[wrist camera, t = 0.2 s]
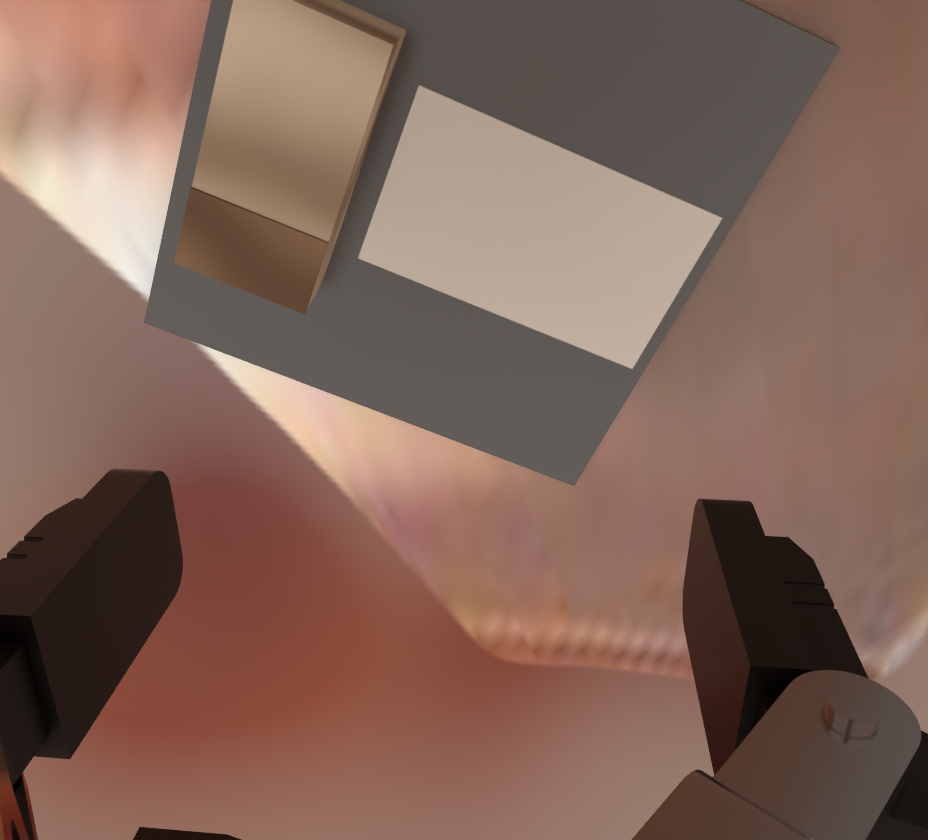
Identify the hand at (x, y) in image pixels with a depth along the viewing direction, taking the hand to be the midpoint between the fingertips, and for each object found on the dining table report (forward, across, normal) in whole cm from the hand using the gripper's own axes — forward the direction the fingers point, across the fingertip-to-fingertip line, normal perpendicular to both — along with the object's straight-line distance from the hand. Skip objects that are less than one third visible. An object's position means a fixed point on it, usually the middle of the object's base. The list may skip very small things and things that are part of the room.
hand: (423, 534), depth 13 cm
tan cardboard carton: (+21, +8, -3) cm, 23 cm away
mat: (+22, +2, -1) cm, 22 cm away
